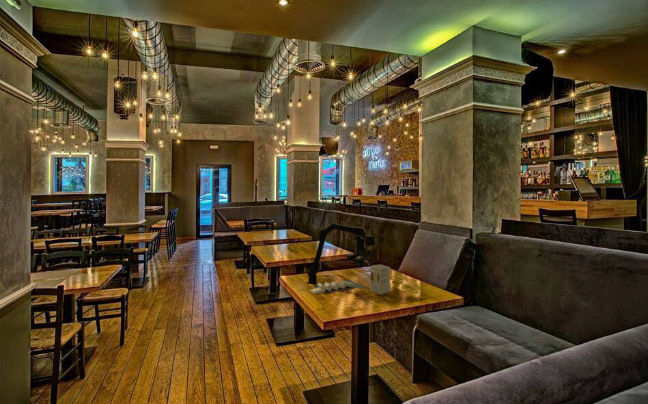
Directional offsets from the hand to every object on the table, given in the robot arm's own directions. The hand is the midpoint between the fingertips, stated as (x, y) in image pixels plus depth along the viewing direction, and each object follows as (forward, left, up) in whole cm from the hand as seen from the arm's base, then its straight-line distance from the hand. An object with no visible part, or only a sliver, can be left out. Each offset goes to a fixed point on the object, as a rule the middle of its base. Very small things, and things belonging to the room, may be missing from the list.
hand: (360, 267), depth 239 cm
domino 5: (0, -7, -11) cm, 13 cm away
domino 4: (0, -14, -11) cm, 18 cm away
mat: (-4, -15, -12) cm, 20 cm away
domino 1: (0, -29, -11) cm, 31 cm away
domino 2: (0, -25, -11) cm, 27 cm away
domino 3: (0, -19, -11) cm, 22 cm away
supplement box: (+17, +4, -13) cm, 22 cm away
